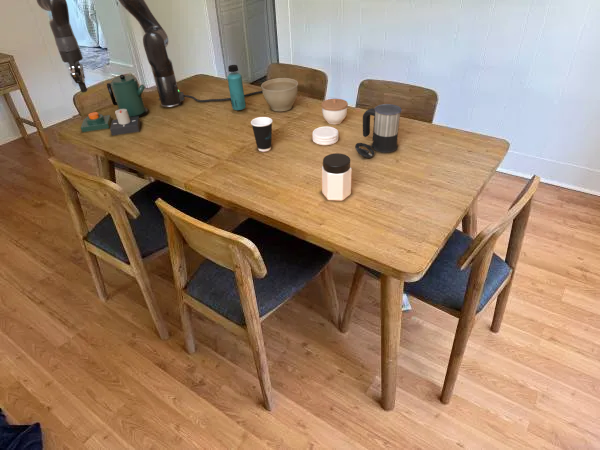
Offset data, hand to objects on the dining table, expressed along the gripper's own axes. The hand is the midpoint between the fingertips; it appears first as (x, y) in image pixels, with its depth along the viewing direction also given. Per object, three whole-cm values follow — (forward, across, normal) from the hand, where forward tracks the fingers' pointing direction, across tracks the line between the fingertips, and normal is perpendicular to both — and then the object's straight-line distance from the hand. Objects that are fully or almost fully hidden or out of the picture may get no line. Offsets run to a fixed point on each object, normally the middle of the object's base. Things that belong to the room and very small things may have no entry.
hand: (84, 91), depth 171 cm
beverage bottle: (+15, +6, +62) cm, 64 cm away
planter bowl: (+15, +10, +81) cm, 83 cm away
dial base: (+15, +9, +13) cm, 22 cm away
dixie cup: (+15, +47, +67) cm, 83 cm away
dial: (+12, +9, +13) cm, 20 cm away
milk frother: (+14, +62, +105) cm, 123 cm away
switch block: (+15, 0, 0) cm, 15 cm away
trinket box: (+14, +32, +99) cm, 105 cm away
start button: (+12, 0, 0) cm, 12 cm away
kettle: (+15, -7, +15) cm, 23 cm away
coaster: (+14, +48, +90) cm, 103 cm away
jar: (+14, +85, +83) cm, 119 cm away
